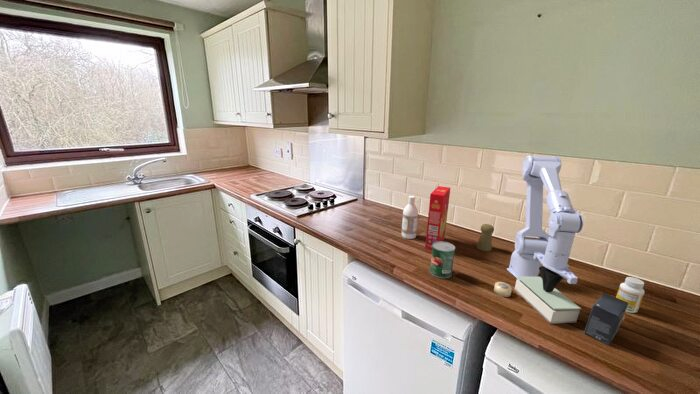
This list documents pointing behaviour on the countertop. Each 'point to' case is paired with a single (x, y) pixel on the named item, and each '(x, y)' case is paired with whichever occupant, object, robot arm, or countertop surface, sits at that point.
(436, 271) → the canned tomato
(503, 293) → the cream domed disc
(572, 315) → the keepsake box
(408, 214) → the bath foam
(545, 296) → the lid
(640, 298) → the supplement bottle
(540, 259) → the robot arm
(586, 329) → the box
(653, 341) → the countertop surface
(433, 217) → the food packaging
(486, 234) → the olive pepper mill
